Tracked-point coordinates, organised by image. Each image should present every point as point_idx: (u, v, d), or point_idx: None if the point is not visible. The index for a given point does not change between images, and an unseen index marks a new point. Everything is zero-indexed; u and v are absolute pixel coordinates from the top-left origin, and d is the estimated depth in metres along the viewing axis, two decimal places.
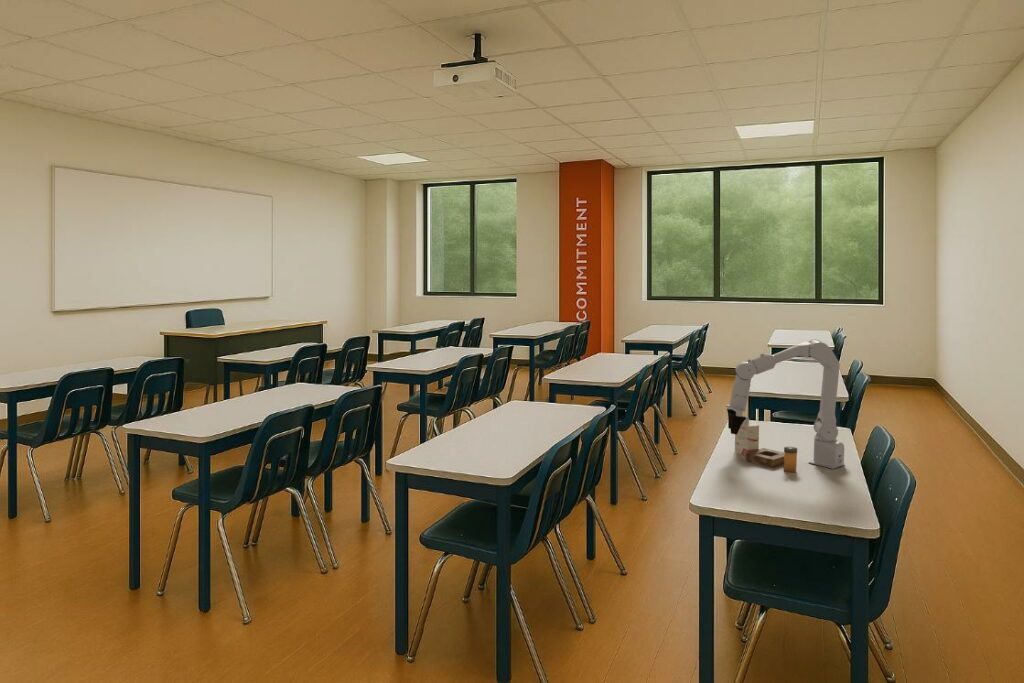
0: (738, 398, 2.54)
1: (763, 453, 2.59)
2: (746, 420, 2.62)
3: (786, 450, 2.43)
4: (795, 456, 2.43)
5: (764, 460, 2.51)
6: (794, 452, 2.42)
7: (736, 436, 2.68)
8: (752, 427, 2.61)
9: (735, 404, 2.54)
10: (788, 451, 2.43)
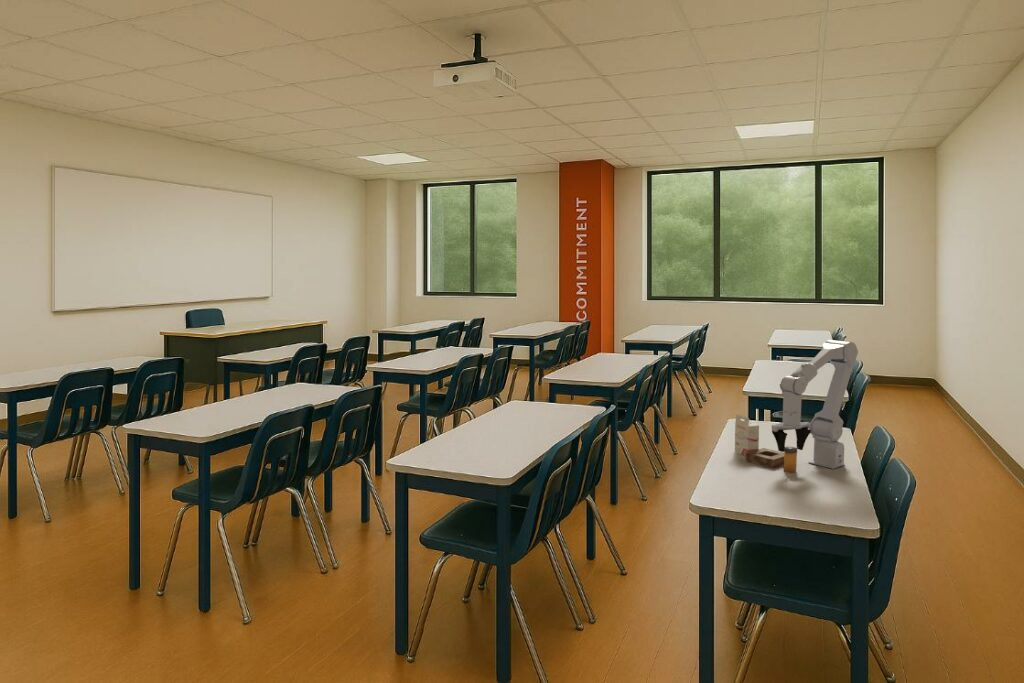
0: None
1: (763, 453, 2.59)
2: (746, 420, 2.62)
3: (786, 450, 2.43)
4: (795, 456, 2.43)
5: (764, 460, 2.51)
6: (794, 452, 2.42)
7: (736, 436, 2.68)
8: (752, 427, 2.61)
9: None
10: (788, 451, 2.43)
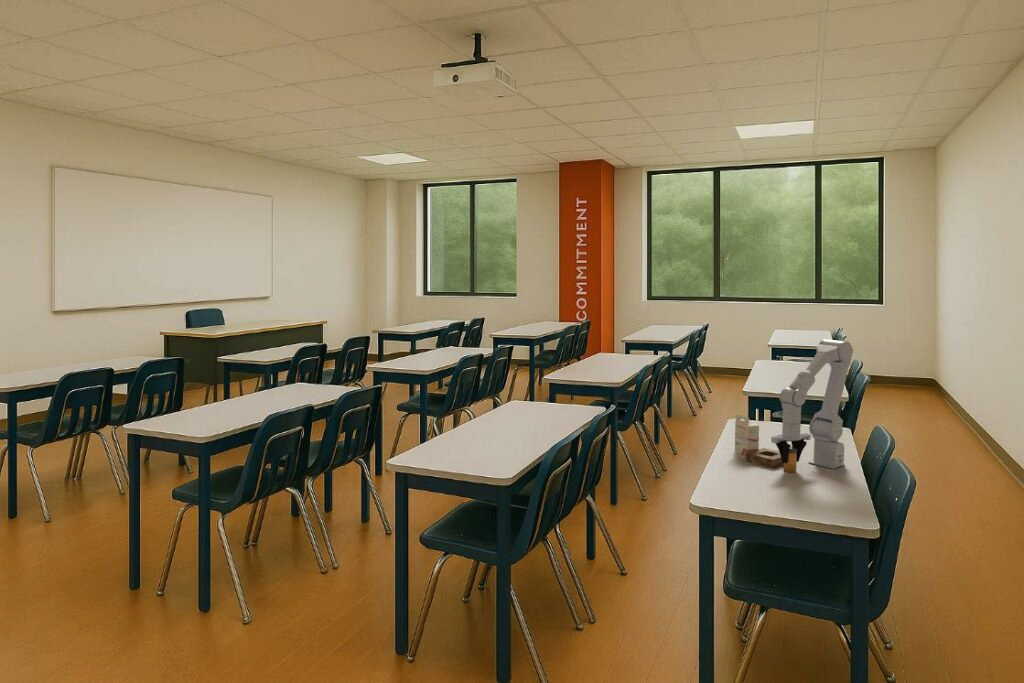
0: None
1: (763, 453, 2.59)
2: (746, 420, 2.62)
3: None
4: (795, 456, 2.43)
5: (764, 460, 2.51)
6: (794, 452, 2.42)
7: (736, 436, 2.68)
8: (752, 427, 2.61)
9: None
10: None
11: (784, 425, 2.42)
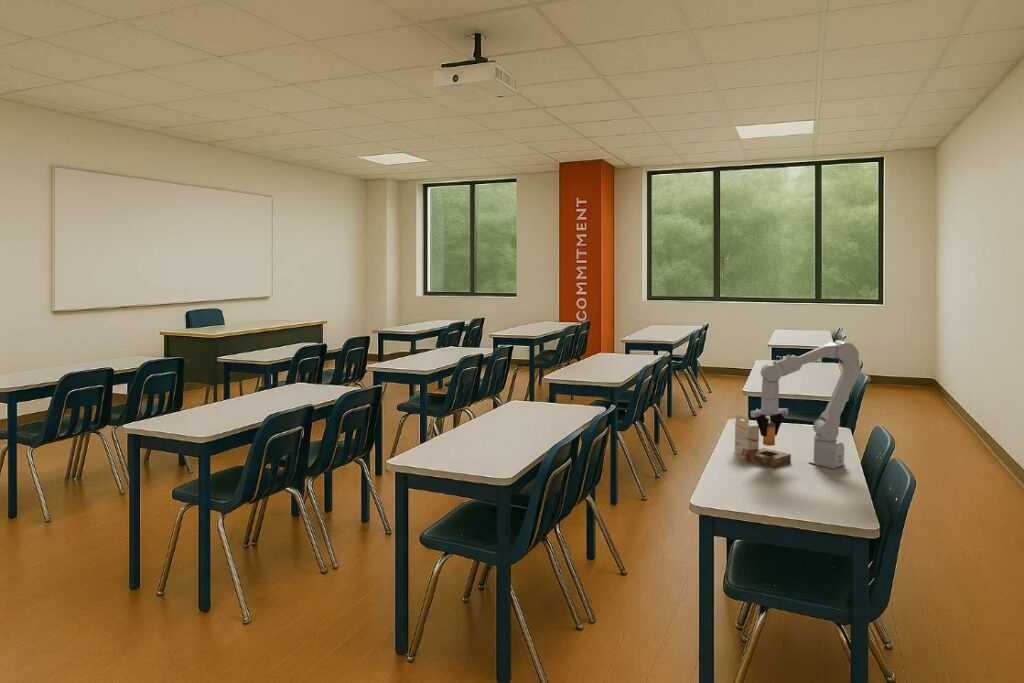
0: None
1: (763, 453, 2.59)
2: (746, 420, 2.62)
3: None
4: (773, 430, 2.53)
5: (764, 460, 2.51)
6: (772, 426, 2.53)
7: (736, 436, 2.68)
8: (752, 427, 2.61)
9: None
10: (767, 425, 2.53)
11: (763, 400, 2.53)
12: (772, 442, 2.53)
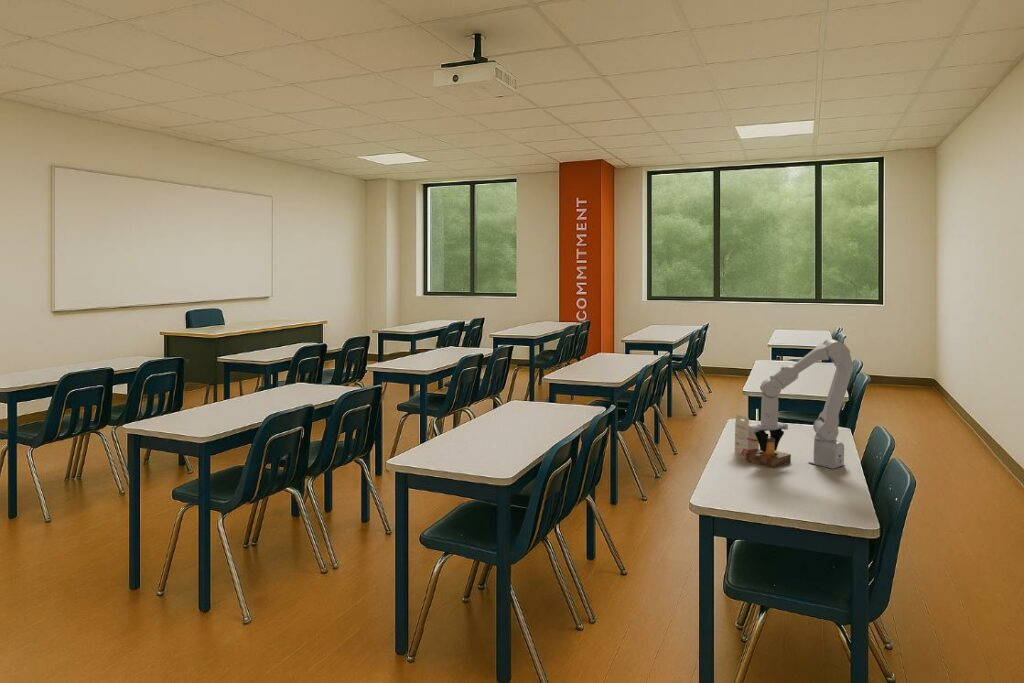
0: None
1: None
2: (746, 420, 2.62)
3: None
4: (773, 445, 2.54)
5: (764, 460, 2.51)
6: (772, 441, 2.53)
7: (736, 436, 2.68)
8: None
9: None
10: None
11: (762, 415, 2.53)
12: None
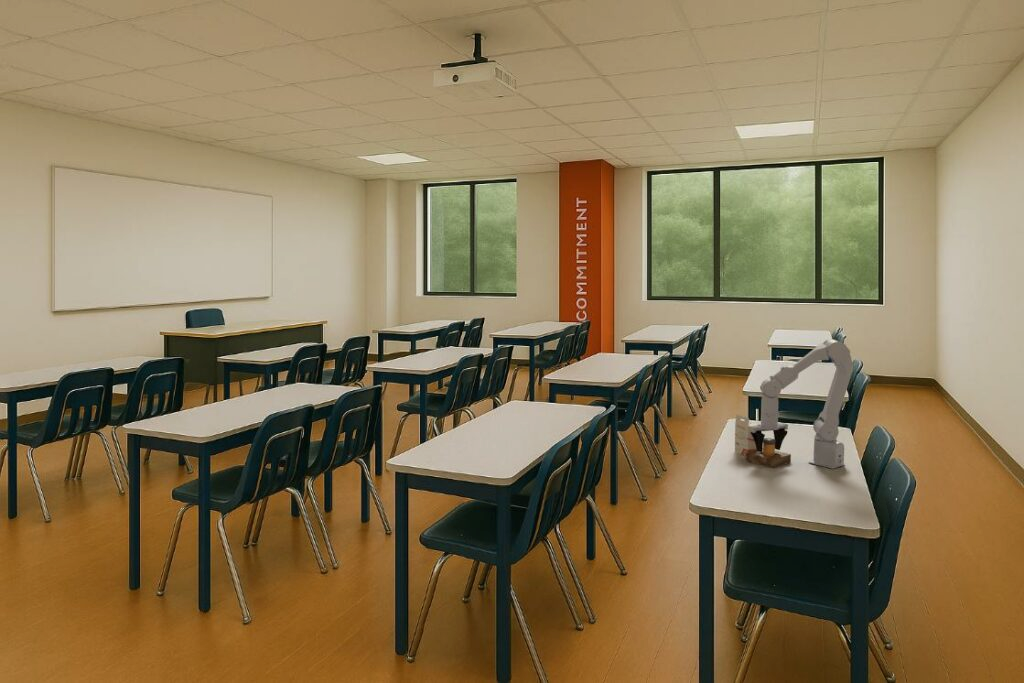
0: None
1: None
2: (746, 420, 2.62)
3: (765, 441, 2.54)
4: (773, 447, 2.54)
5: (764, 460, 2.51)
6: (772, 443, 2.53)
7: (736, 436, 2.68)
8: None
9: None
10: (766, 442, 2.53)
11: (762, 415, 2.53)
12: None
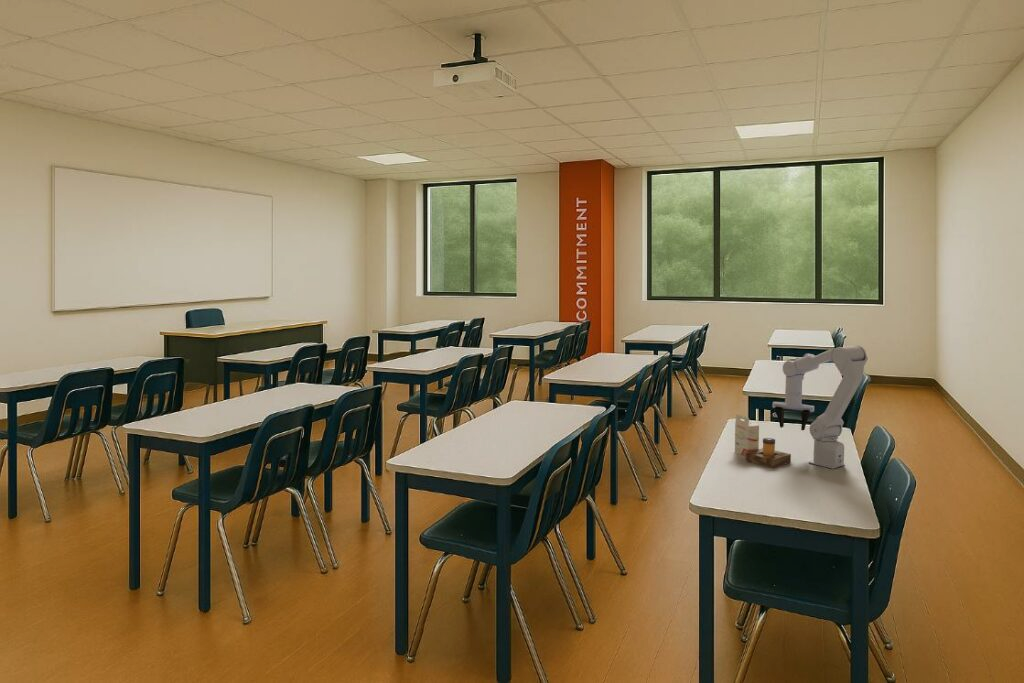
0: (800, 396, 2.62)
1: None
2: (746, 420, 2.62)
3: (765, 441, 2.54)
4: (773, 447, 2.54)
5: (764, 460, 2.51)
6: (772, 443, 2.53)
7: (736, 436, 2.68)
8: (752, 427, 2.61)
9: (799, 402, 2.62)
10: (766, 442, 2.54)
11: None
12: None
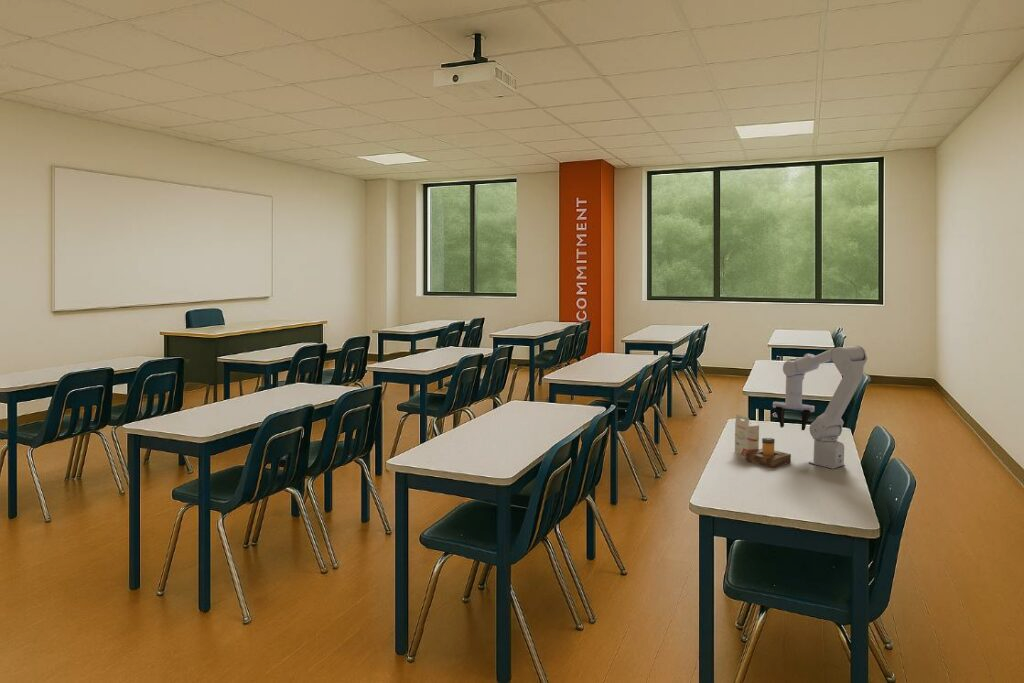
0: (800, 395, 2.62)
1: None
2: (746, 420, 2.62)
3: (764, 441, 2.54)
4: (773, 446, 2.54)
5: (764, 460, 2.51)
6: (772, 442, 2.54)
7: (736, 436, 2.68)
8: (752, 427, 2.61)
9: (799, 402, 2.62)
10: (766, 442, 2.54)
11: None
12: None
